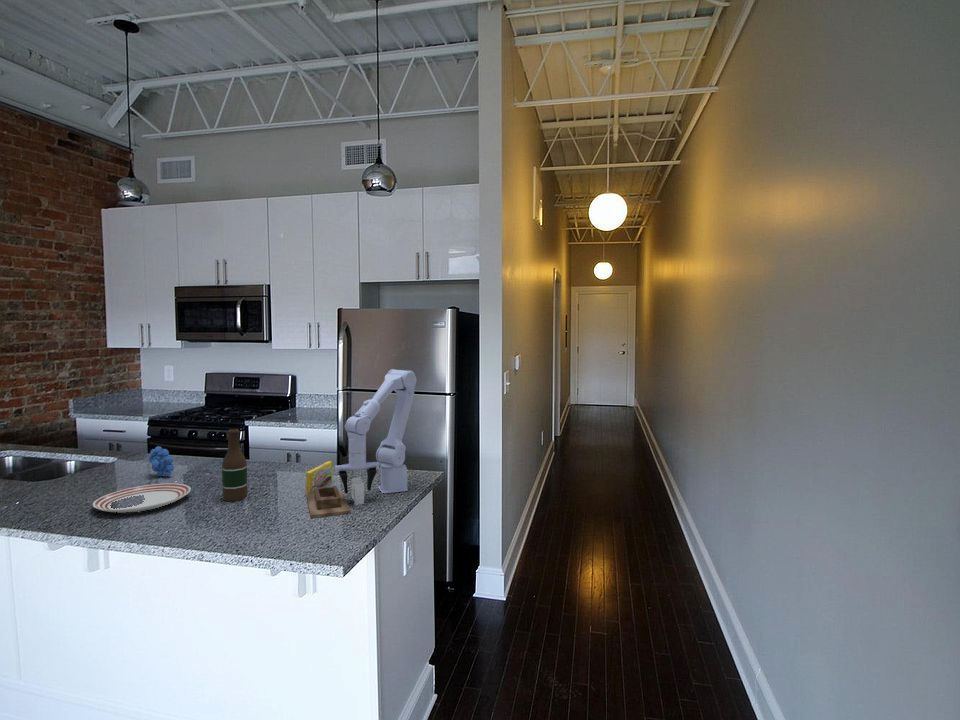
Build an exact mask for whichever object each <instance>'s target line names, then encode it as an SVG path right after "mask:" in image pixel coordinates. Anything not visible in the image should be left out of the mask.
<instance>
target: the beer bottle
mask: <svg viewBox="0 0 960 720" xmlns="http://www.w3.org/2000/svg"><path fill="white" fill-rule="evenodd" d="M227 434H228V438H227V439H228V441H227V452H226V454H225V456H224V457H223V460H222V462H221V463H222V464H221V477H222V479H221V480H222V481H221V482H222V499H223V500H224V499H225V500H226V501H225V500H224V501H225V502H238V500H239V501H242V500H245V499H246V498H247V497H248V464H247V459H246V457H245V455H244V454H243V453H242V451H241V444H240V429H238V428H230V429H228V430H227Z"/></svg>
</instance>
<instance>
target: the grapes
mask: <svg viewBox="0 0 960 720" xmlns="http://www.w3.org/2000/svg"><path fill="white" fill-rule="evenodd" d="M149 452H150V453H149V454H150V457H149V458H148V461H149V463H150V464H151V469H152V471H153V472H154V473H155V472H156V474H157V476H159V477H160V476H163V475H164V476H163V477H166V476H168V477H170V476H171V475H172V472H173V471H174V470H175V466H174V464H172V463H173V462H174V457H173V456H171V455H169V454H170V451H169V450H168V449H167V448H163V447H161V446H159V445H157V446H155V448H152V449H151V450H150V451H149Z"/></svg>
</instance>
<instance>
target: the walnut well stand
mask: <svg viewBox="0 0 960 720" xmlns="http://www.w3.org/2000/svg"><path fill="white" fill-rule="evenodd" d="M306 500H307V501H306V502H307V506H308V509H309V516H310V519H319V518H326V516H327V517H333V516H342V514H343V515H350V514H351V509H350V506H349V503H348V501H347V498H346V497H345V495H344V492H343V490H342V489H338V486H337V485H332V486H324V487H321V488H314V493H309V494H307V495H306ZM349 513H350V514H349ZM318 517H319V518H318Z"/></svg>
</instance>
